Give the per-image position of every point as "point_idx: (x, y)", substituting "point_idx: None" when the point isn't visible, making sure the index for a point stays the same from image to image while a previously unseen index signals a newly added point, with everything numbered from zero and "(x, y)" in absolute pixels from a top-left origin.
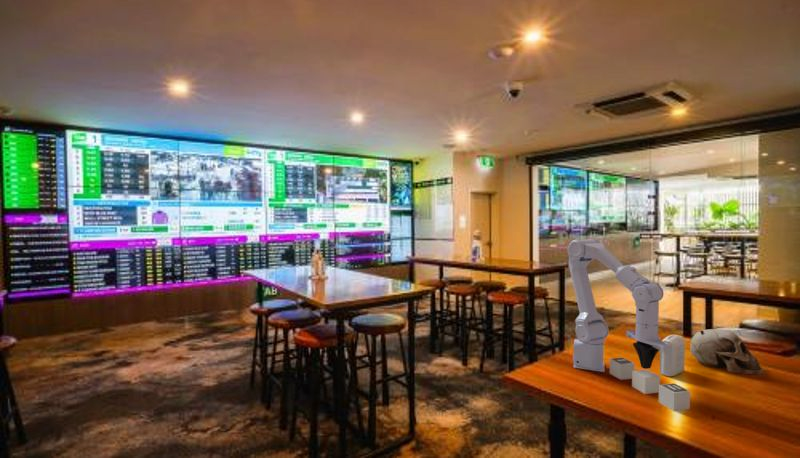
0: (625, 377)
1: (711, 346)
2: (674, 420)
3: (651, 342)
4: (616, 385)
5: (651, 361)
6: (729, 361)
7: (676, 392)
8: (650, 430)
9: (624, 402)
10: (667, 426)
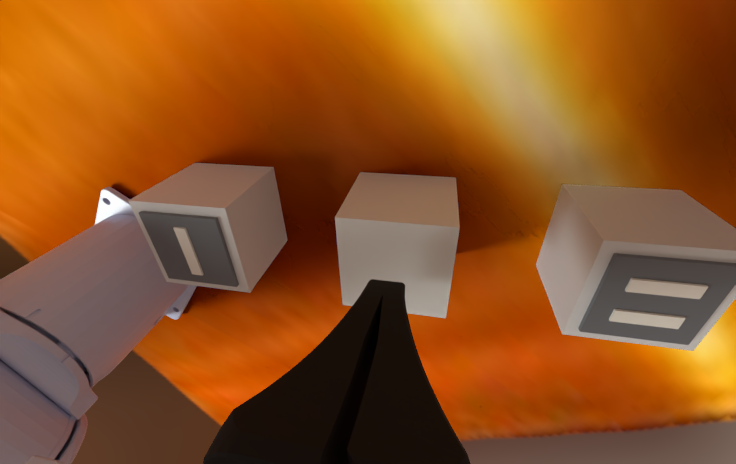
0: (279, 221)
1: None
2: None
3: None
4: None
5: (404, 325)
6: None
7: (700, 335)
8: (664, 427)
9: (478, 363)
10: (692, 380)
